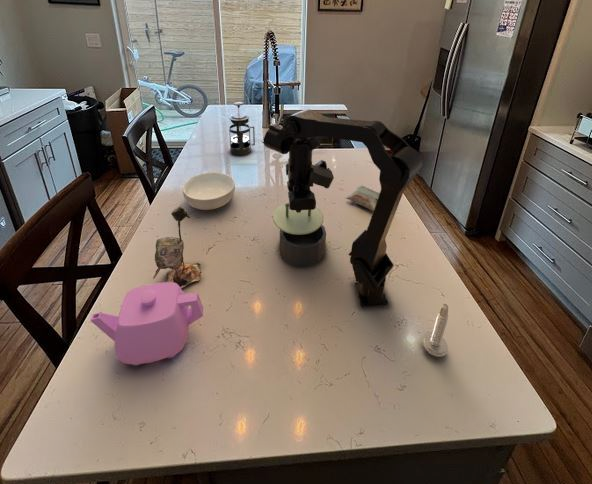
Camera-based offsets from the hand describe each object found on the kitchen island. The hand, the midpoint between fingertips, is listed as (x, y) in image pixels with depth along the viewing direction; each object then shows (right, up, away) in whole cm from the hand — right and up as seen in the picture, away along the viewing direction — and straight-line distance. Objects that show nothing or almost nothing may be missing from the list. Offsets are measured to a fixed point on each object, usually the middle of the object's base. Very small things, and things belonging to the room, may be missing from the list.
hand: (298, 210), depth 88 cm
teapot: (-30, -22, -20) cm, 42 cm away
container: (+1, -12, +5) cm, 13 cm away
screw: (+28, -24, -20) cm, 42 cm away
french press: (-25, +12, +60) cm, 66 cm away
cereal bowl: (-30, -3, +24) cm, 39 cm away
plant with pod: (-30, -16, -5) cm, 34 cm away
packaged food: (+23, -4, +25) cm, 35 cm away
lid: (0, -2, +1) cm, 2 cm away
